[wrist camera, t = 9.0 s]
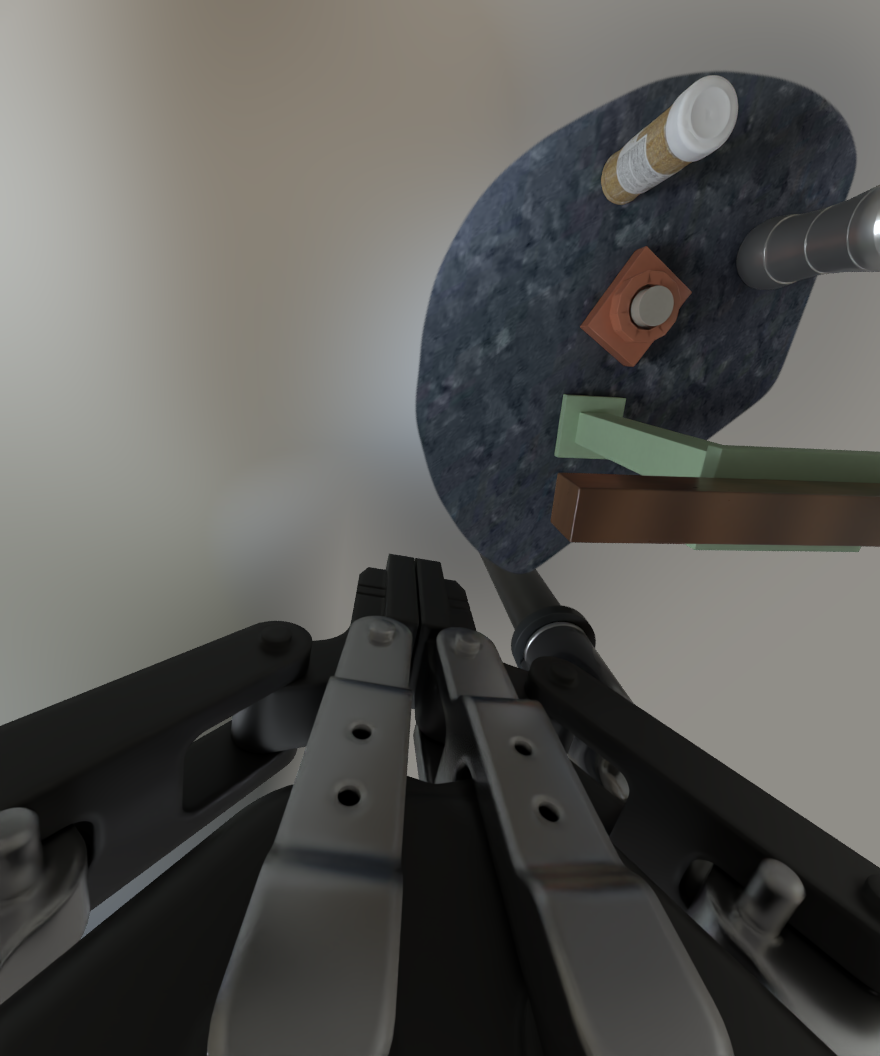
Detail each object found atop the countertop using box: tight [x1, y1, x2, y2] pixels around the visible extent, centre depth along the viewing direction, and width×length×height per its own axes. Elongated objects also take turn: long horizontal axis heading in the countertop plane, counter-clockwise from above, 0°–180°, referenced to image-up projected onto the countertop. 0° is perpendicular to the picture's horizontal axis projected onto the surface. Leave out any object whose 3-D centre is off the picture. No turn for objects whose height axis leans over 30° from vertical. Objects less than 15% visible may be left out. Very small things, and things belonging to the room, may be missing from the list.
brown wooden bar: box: [551, 473, 880, 547], centre depth 25 cm, size 21×3×3 cm, turn 87°
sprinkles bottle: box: [601, 75, 738, 205], centre depth 39 cm, size 5×5×13 cm
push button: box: [630, 285, 674, 327], centre depth 46 cm, size 4×4×2 cm
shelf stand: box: [555, 394, 880, 552], centre depth 40 cm, size 11×7×30 cm, turn 87°
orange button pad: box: [580, 246, 692, 367], centre depth 48 cm, size 9×7×4 cm
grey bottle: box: [736, 185, 880, 290], centre depth 40 cm, size 6×7×20 cm
